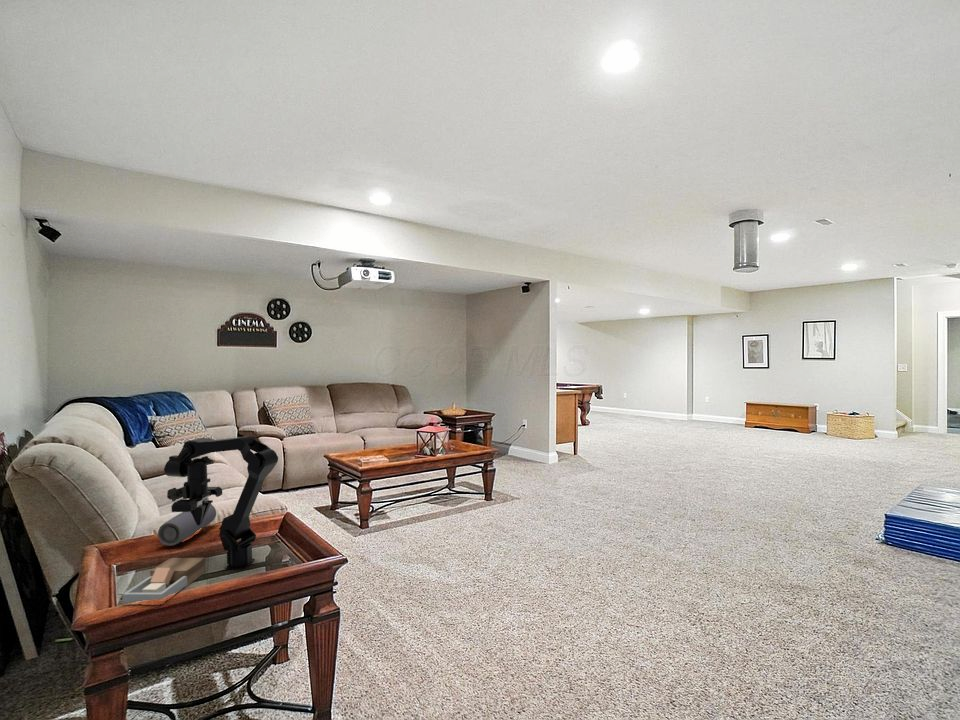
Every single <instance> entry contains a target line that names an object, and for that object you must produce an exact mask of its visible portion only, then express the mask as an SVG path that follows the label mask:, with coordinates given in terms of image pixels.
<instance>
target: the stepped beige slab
mask: <svg viewBox="0 0 960 720" xmlns="http://www.w3.org/2000/svg"><path fill="white" fill-rule="evenodd" d="M156 568H171V569H172V570H173V571H174V573H173V575H172V577H171V580H170V582H169V584H173V583H175V582H176V581H177V580H179V579H180V578H181V577H183V576H187V587H188V586H189V585H191V584H192V583H193V582H195V581H196V580H198V579H199V578H200V577H202V576H203V574H205V573H206V558H205V557H170V558H168V559H167V560H165V561H163V562H162V563H160V564H159V565H157V566H156V567H154V568H152V569H151V570H150V572H149V573H150V575H149V576H153V574H154V572H155V570H156Z"/></svg>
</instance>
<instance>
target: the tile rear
mask: <svg viewBox="0 0 960 720" xmlns="http://www.w3.org/2000/svg"><path fill="white" fill-rule="evenodd" d="M155 568H156V567H155ZM173 573H174V571H173V570H172V569H171V568H156V570H155V572H154V574H153V577H152V579H151V581H150V582H151V583H166V585H168V584H169V582H170V580H171V577H172V575H173Z"/></svg>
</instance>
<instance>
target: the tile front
mask: <svg viewBox="0 0 960 720" xmlns="http://www.w3.org/2000/svg"><path fill="white" fill-rule="evenodd" d="M165 589H166V583H151V584H149V585H148V586H146V587H145V588H143V589H142V593H161V592H162V591H163V590H165Z"/></svg>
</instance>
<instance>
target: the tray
mask: <svg viewBox="0 0 960 720" xmlns="http://www.w3.org/2000/svg"><path fill="white" fill-rule="evenodd" d="M152 577H153V576H151V575H149V576H148V577H146V578H145V579H144V580H142V581H141V582H139V583H137V584H136V585H134V586H133V587H131V588H130V589H128V590H127V591H125V592H124V593H122V594H121V595H122V605H123V604H125V603H129V602H134V601H143V600H153V599H163V598H164V597H166V596H168V595H170V594H173V593H176V592H177V591H179V590H181V589H183V588H184V587H185V588H186V586H187V576H183V577H181V578H180V579H179V580H177V581H176V582H175V583H173V584H168V585H166V589H165V590H163V591H162V592H161V593H142V589H143V588H145V587H146V586H148V585H149V584H151V582H150V581H151V579H152ZM187 587H188V586H187ZM185 588H184V589H185ZM184 589H183V590H184ZM181 591H182V590H181Z"/></svg>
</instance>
